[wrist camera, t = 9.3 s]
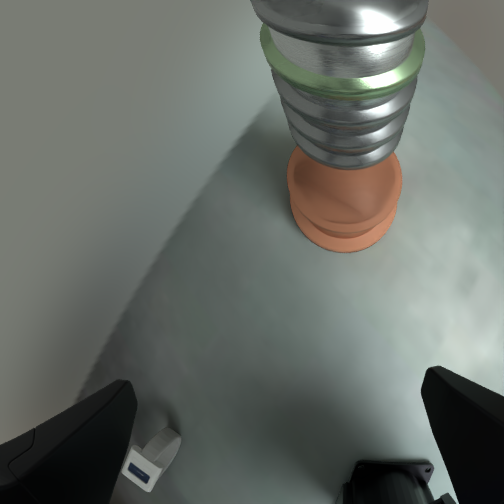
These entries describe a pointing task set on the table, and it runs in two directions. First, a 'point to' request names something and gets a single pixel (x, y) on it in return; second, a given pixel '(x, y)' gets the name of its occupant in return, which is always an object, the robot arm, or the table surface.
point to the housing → (343, 201)
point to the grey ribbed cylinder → (344, 73)
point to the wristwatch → (152, 458)
